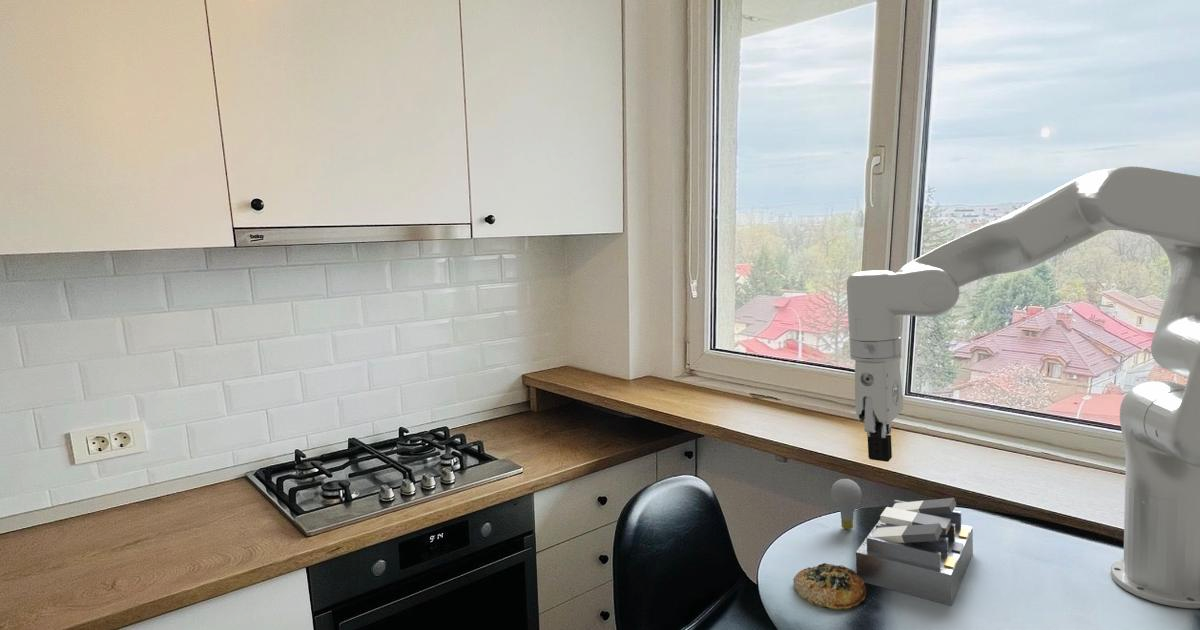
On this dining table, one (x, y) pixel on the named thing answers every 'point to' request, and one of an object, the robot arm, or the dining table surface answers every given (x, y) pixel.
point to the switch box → (918, 562)
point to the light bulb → (846, 500)
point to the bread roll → (830, 586)
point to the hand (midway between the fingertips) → (880, 458)
